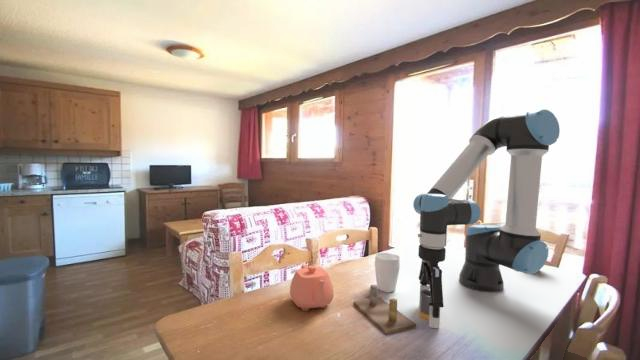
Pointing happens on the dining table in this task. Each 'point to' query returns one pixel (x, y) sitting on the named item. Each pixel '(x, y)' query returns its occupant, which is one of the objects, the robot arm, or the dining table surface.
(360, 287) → the dining table surface
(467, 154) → the robot arm
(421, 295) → the sleeve
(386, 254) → the cup
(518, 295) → the dining table surface
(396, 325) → the pin board
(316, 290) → the teapot
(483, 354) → the dining table surface
